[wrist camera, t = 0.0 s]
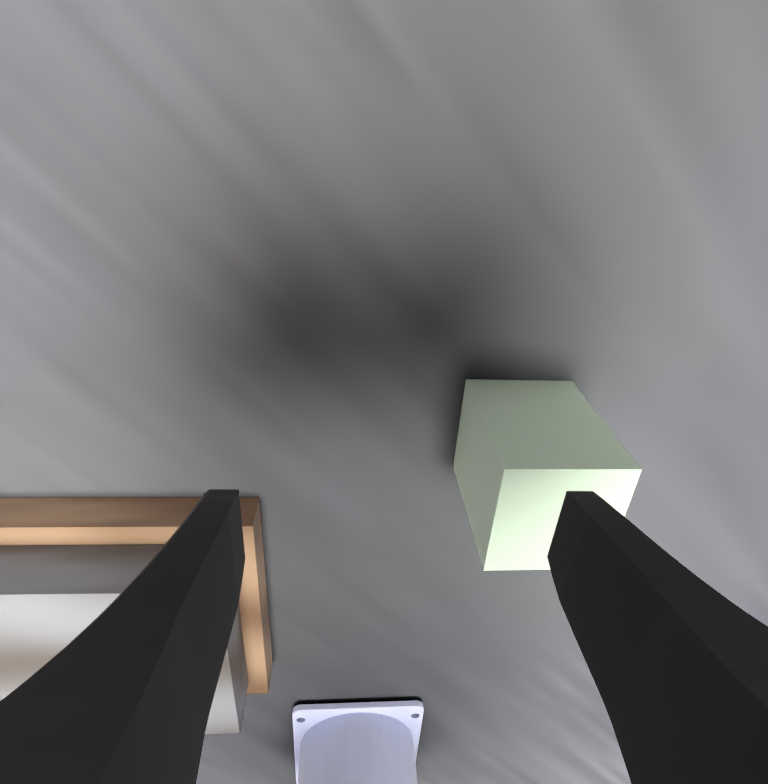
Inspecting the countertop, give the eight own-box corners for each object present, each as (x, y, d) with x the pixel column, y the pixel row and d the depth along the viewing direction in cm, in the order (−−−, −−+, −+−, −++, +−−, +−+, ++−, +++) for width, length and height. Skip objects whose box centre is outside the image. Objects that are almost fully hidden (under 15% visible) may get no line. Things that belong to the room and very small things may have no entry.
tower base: (273, 650, 30) (268, 692, 28) (56, 655, 29) (33, 700, 27) (261, 488, 24) (252, 526, 22) (-12, 487, 24) (-48, 527, 21)
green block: (549, 466, 24) (605, 568, 19) (453, 466, 24) (483, 570, 19) (571, 380, 22) (641, 469, 17) (465, 378, 22) (504, 469, 16)
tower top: (248, 682, 28) (239, 733, 25) (49, 687, 27) (22, 739, 25) (231, 544, 23) (219, 592, 20) (-14, 545, 22) (-53, 595, 20)
